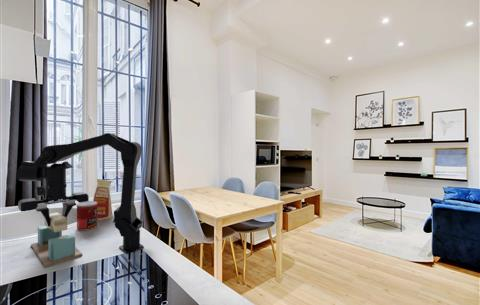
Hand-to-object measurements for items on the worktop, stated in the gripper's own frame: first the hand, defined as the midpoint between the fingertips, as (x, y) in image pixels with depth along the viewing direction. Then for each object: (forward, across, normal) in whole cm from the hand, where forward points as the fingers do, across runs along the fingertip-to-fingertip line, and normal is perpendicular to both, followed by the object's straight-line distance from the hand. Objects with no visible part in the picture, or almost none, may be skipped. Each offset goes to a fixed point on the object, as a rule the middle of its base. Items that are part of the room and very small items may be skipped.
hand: (56, 224), depth 81 cm
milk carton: (+10, -25, -27) cm, 38 cm away
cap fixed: (+9, 0, -8) cm, 12 cm away
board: (+10, 0, 0) cm, 10 cm away
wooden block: (+1, 0, 0) cm, 1 cm away
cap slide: (+9, 0, +8) cm, 12 cm away
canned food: (+10, -15, -17) cm, 25 cm away
